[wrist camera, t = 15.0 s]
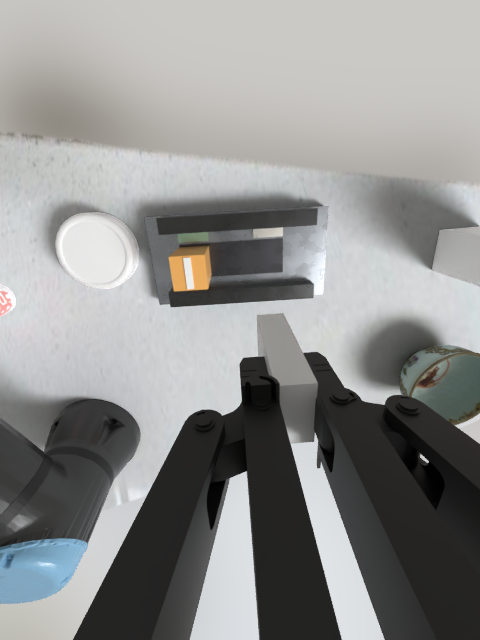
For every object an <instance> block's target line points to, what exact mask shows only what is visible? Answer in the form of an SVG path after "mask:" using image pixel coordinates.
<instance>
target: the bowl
mask: <svg viewBox="0 0 480 640" xmlns="http://www.w3.org/2000/svg"><path fill="white" fill-rule="evenodd" d="M399 384H400V391H401V394H402V395H404V396H409V397H412V398H415V399H417V400H419V401H421V402H423V403H424V404H426V405H427V406H428V407H430V408H431V409H432V410H434V411H435V412H437V413H438V414H439V415H441V416H442V417H443V418H445V419H446V420H447V421H449V422H450V423H452V424H453V425H457V424H460V423H463V422H466V421H467V420H469V419H471V418H473V417H475V416H476V415H478V414H479V413H480V354H479V353H474V352H472V351H470V350H467V349H464V348H461V347H457V346H450V345H437V346H432V347H428V348H425V349H423V350H421V351H419V352H416V353H414V354H412V355H411V356H410V357H409V358H408V359H407V360H406V362H405V364H404V367H403V368H402V371H401V374H400V381H399Z"/></svg>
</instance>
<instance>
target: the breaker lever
mask: <svg viewBox="0 0 480 640" xmlns="http://www.w3.org/2000/svg"><path fill="white" fill-rule="evenodd" d="M169 263H170V270H171V276H172V282H173V289H174V291H190V290H205V289H208V288H209V284H210V280H211V275H212V274H211V264H210V253H209V246H194V247H179V248H178V249H177V250H176V251H174V252H173V253H172V254H171V255H170V256H169Z"/></svg>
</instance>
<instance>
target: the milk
mask: <svg viewBox="0 0 480 640" xmlns="http://www.w3.org/2000/svg"><path fill="white" fill-rule="evenodd" d="M432 271H435V272H438V273H441V274H444V275H447V276H450V277H453V278H456V279H459V280H462V281H465V282H468V283H471V284H474V285H477V286H480V226H479V227H467V228H455V229H442V230H440V231H439V236H438V241H437V246H436V251H435V256H434V261H433V266H432Z"/></svg>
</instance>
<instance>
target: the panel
mask: <svg viewBox="0 0 480 640" xmlns="http://www.w3.org/2000/svg"><path fill="white" fill-rule="evenodd" d="M328 208H329V206H315V207H299V208H282V209H266V210H249V211H233V212H217V213H200V214H184V215H167V216H151V217H144V219H145V225H146V231H147V236H148V242H149V247H150V253H151V258H152V264H153V269H154V275H155V280H156V286H157V291H158V297H159V303H160V305H162V304H170V306H171V307H182V306H197V305H213V304H228V303H243V302H259V301H274V300H289V299H305V298H313V295H316V294H323V284H324V269H325V254H326V239H327V223H328ZM194 246H209V253H210V264H211V274H212V275H211V280H210V284H209V288H208V289H205V290H190V291H174V289H173V282H172V276H171V270H170V263H169V256H170V255H171V254H172V253H173V252H174V251H176V250H177V249H178V248H179V247H194Z"/></svg>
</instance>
